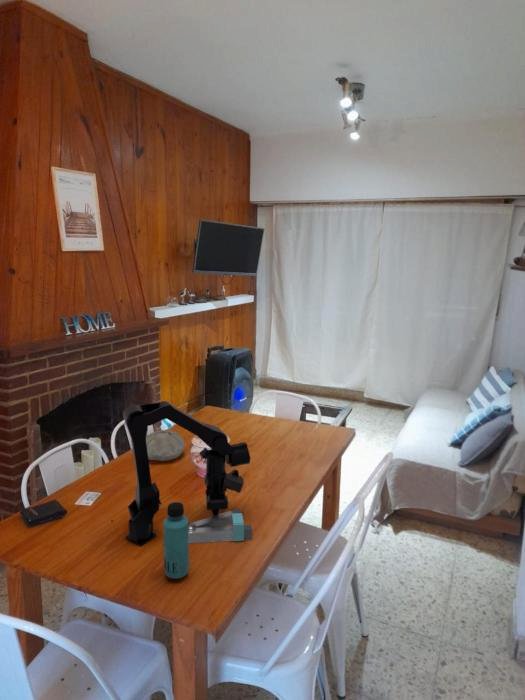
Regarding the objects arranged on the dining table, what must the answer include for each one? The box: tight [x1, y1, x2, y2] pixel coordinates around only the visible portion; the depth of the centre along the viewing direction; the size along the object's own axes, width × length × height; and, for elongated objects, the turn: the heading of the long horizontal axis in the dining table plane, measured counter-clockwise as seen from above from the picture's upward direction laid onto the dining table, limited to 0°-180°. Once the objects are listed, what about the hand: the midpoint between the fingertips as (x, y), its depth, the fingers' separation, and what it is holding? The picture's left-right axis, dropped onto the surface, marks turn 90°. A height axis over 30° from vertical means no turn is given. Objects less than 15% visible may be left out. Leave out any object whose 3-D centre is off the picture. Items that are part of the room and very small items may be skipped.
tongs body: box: [188, 522, 253, 545], centre depth 138 cm, size 20×4×4 cm, turn 98°
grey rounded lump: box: [146, 429, 186, 462], centre depth 192 cm, size 18×18×10 cm
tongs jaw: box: [192, 507, 243, 528], centre depth 144 cm, size 18×2×3 cm, turn 123°
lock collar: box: [231, 512, 245, 542], centre depth 139 cm, size 3×6×5 cm, turn 8°
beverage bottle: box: [162, 501, 190, 579], centre depth 120 cm, size 6×7×20 cm
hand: (215, 515), depth 147 cm, fingers closed
